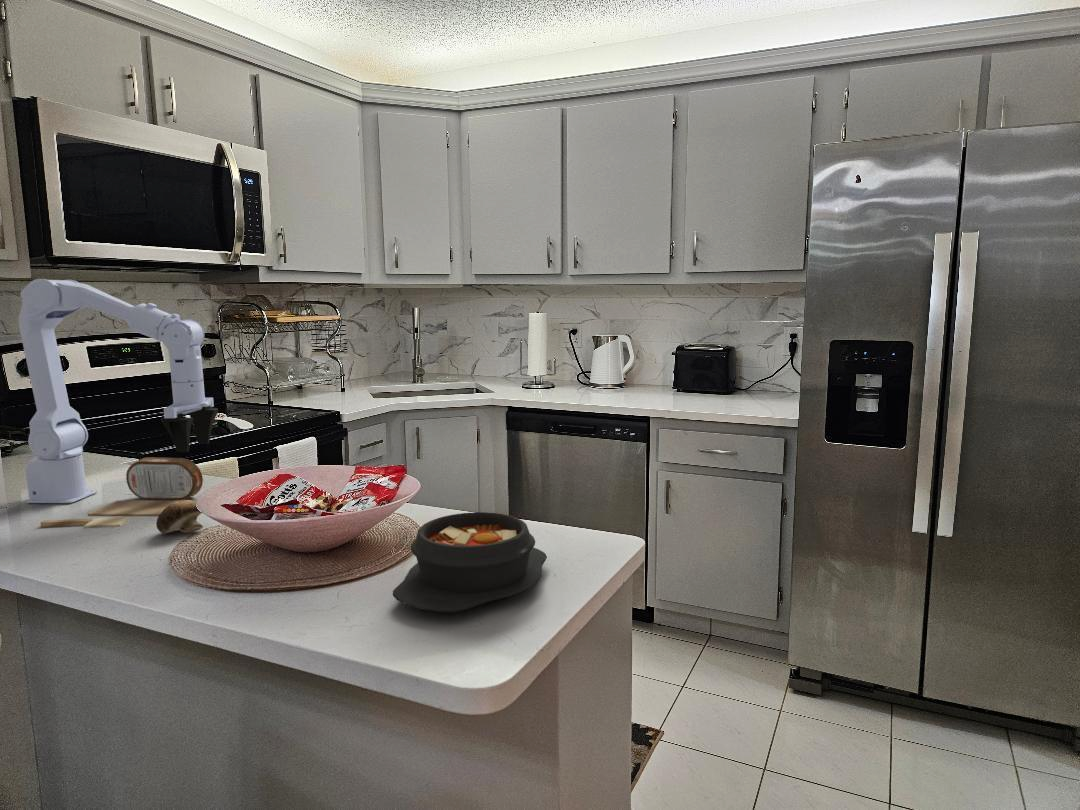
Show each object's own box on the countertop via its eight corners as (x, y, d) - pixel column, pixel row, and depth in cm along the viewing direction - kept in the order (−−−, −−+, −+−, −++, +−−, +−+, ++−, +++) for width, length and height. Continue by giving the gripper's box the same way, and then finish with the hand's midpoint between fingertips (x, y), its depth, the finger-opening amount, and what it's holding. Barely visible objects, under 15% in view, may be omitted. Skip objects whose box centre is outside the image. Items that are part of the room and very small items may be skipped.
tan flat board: (87, 515, 133) (87, 513, 133) (117, 502, 141) (117, 500, 141) (175, 515, 132) (175, 514, 132) (199, 502, 140) (199, 500, 140)
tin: (205, 497, 144) (201, 456, 143) (196, 501, 141) (192, 460, 140) (136, 496, 146) (131, 456, 144) (125, 500, 142) (121, 459, 141)
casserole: (476, 640, 83) (473, 571, 81) (359, 606, 92) (356, 544, 91) (576, 568, 104) (576, 513, 103) (473, 546, 113) (472, 496, 112)
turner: (35, 529, 125) (35, 525, 125) (49, 521, 129) (49, 517, 129) (120, 526, 126) (119, 522, 126) (131, 518, 131) (130, 514, 131)
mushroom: (217, 514, 121) (195, 485, 121) (174, 542, 117) (150, 512, 116) (212, 525, 128) (190, 497, 128) (170, 552, 123) (148, 523, 123)
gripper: (186, 385, 134) (192, 455, 136) (225, 376, 148) (230, 440, 150) (150, 385, 134) (157, 455, 136) (192, 376, 149) (198, 440, 151)
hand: (193, 447), depth 143 cm, fingers open, 7 cm apart
